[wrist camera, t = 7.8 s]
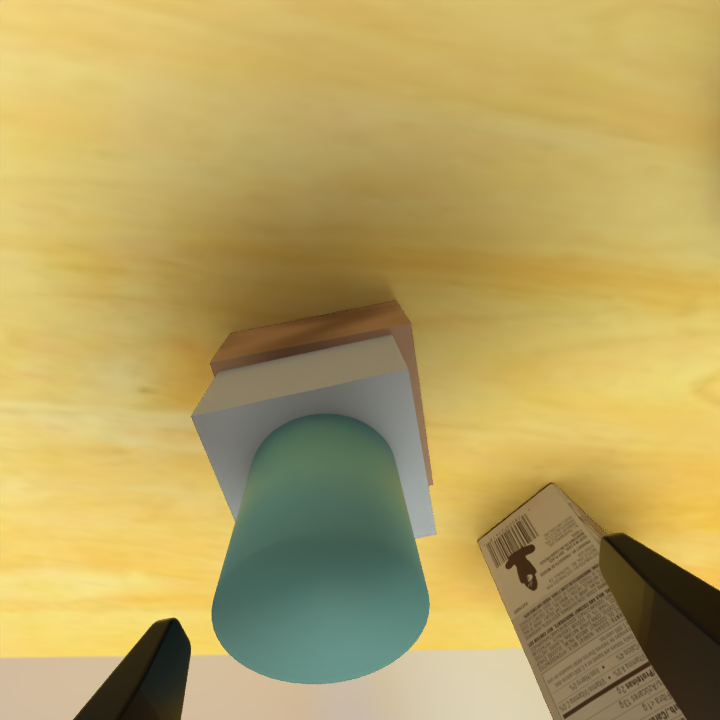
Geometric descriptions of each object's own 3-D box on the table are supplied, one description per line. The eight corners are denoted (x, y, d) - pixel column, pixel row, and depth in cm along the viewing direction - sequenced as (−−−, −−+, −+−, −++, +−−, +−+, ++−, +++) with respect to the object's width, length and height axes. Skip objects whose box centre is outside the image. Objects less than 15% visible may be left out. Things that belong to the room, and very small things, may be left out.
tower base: (395, 298, 20) (410, 323, 16) (415, 437, 23) (433, 484, 19) (232, 331, 20) (209, 362, 16) (275, 465, 23) (264, 518, 19)
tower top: (391, 334, 16) (408, 369, 13) (417, 475, 19) (436, 534, 15) (218, 371, 16) (190, 416, 13) (268, 507, 19) (256, 572, 15)
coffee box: (630, 551, 27) (1004, 989, 12) (553, 604, 28) (803, 1054, 14) (551, 478, 24) (912, 934, 9) (470, 541, 25) (670, 1025, 11)
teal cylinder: (383, 399, 13) (413, 513, 8) (406, 516, 15) (441, 661, 10) (231, 431, 13) (178, 561, 8) (273, 544, 15) (249, 700, 10)
